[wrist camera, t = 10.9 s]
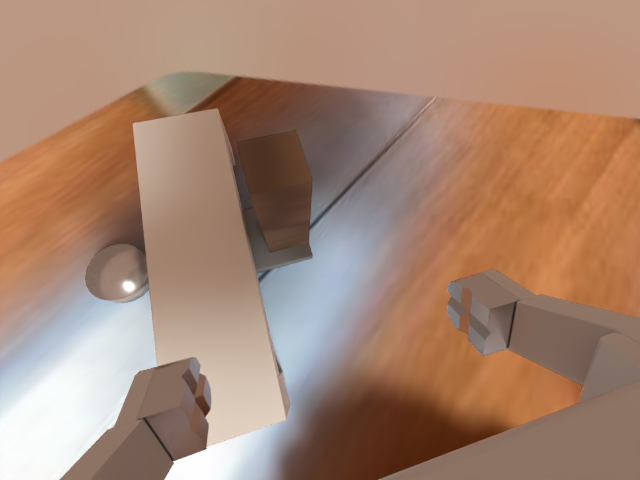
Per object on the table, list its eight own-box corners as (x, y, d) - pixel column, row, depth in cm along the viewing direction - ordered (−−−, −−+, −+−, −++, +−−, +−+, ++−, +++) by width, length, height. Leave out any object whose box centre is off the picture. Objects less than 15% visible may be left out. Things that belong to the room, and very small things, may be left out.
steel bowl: (153, 244, 23) (142, 237, 21) (160, 293, 22) (149, 289, 20) (98, 259, 22) (83, 252, 21) (102, 310, 21) (87, 307, 19)
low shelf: (231, 146, 26) (217, 108, 22) (290, 403, 19) (286, 419, 15) (161, 160, 25) (132, 123, 21) (197, 434, 19) (166, 460, 14)
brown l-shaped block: (295, 203, 25) (290, 114, 15) (312, 258, 23) (318, 197, 14) (152, 237, 23) (47, 162, 13) (159, 299, 21) (47, 263, 12)
